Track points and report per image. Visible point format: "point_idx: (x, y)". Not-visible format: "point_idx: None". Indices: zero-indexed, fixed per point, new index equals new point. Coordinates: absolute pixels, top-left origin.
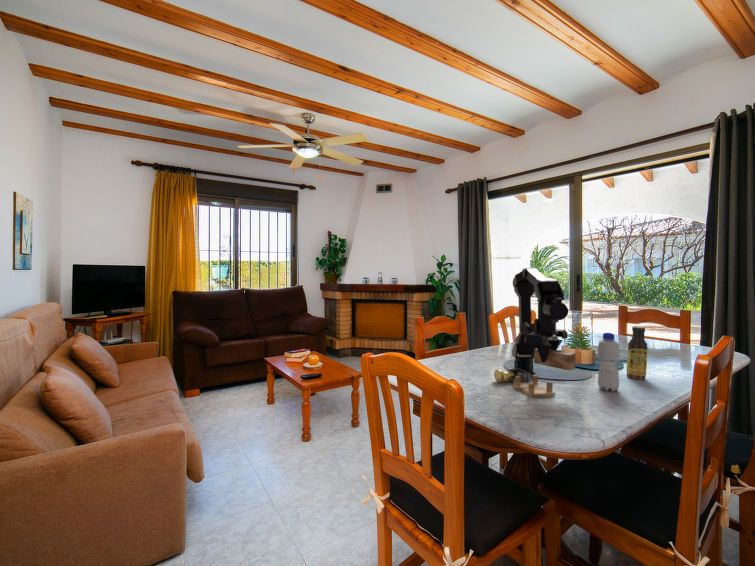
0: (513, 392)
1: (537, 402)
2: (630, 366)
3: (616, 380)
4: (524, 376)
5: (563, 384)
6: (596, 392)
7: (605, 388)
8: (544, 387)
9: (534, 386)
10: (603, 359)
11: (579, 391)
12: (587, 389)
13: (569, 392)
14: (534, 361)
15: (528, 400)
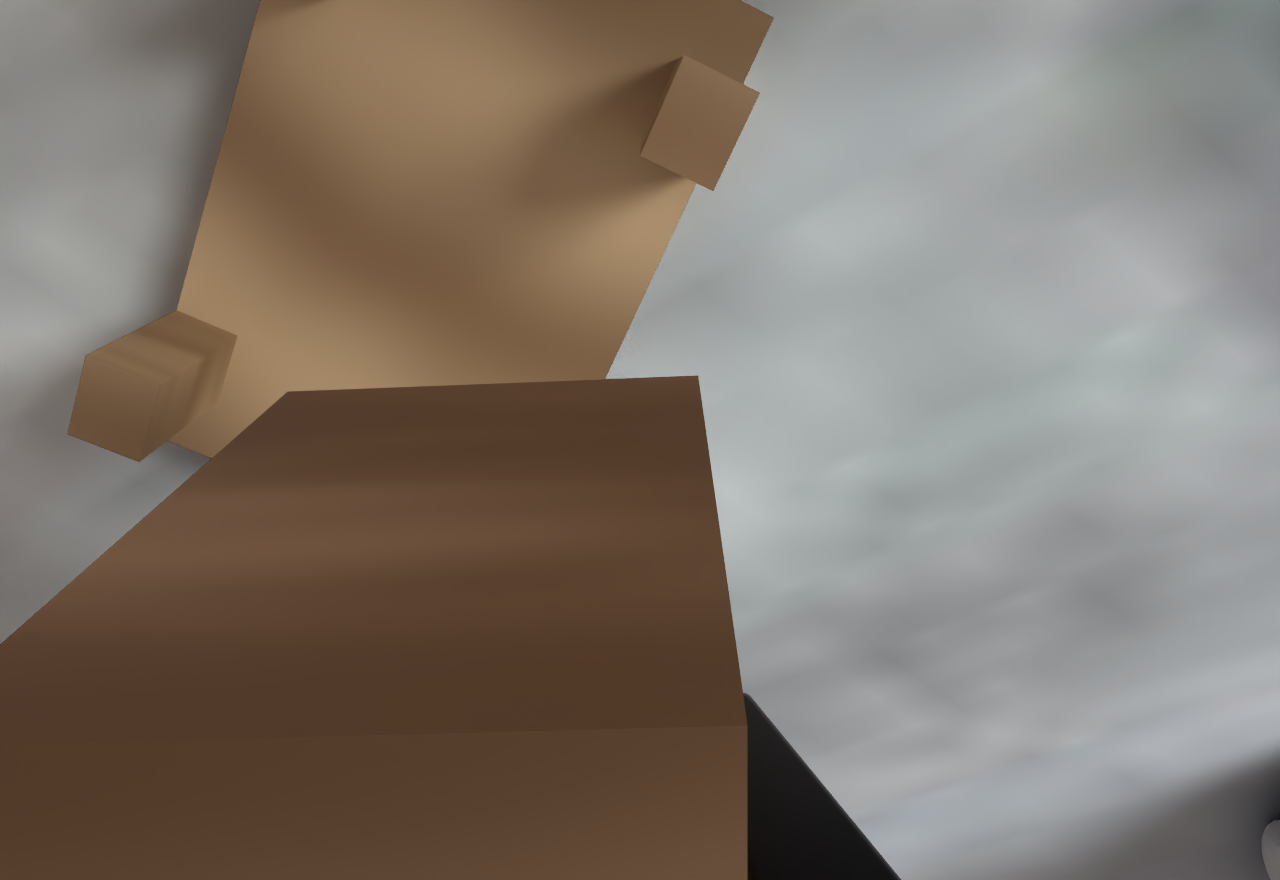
0: (80, 42)
1: (83, 536)
2: None
3: None
4: None
5: (1211, 348)
6: (1114, 778)
7: (1268, 851)
8: (612, 355)
9: (515, 213)
10: None
11: (999, 645)
12: (1177, 669)
13: (847, 588)
14: (260, 428)
15: (25, 423)
